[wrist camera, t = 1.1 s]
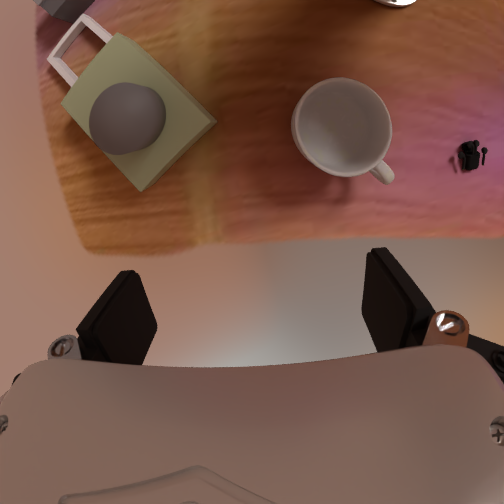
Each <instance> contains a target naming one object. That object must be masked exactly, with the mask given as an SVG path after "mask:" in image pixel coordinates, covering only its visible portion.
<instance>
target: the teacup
mask: <svg viewBox="0 0 504 504" xmlns="http://www.w3.org/2000/svg"><path fill="white" fill-rule="evenodd" d="M291 131H292V136H293V139H294V142H295V144H296V146H297V148H298V149H299V151H300V152H301V153H302V155H303V156H304V157H305V158H306V159H307V160H308V161H310V162H311V163H312V164H314V165H315V166H316V167H318V168H319V169H320V170H322V171H324V172H326V173H329V174H331V175H334V176H340V177H353V176H359V175H361V174H364V173H366V172H368V171H370V172H371V173H372V174H373V175H374V176H375V177H376V178H377V179H378V180H379V181H380V182H382V183H383V184H385V185H388V184H390V183H391V182H392V181H393V179H394V173H393V171H392V170H391V169H390V167H389V166H388V165H387V164H386V163H385V162H384V161H383V160H382V159H383V158H384V156H385V154H386V153H387V150H388V148H389V146H390V143H391V138H392V123H391V118H390V115H389V112H388V110H387V108H386V106H385V104H384V102H383V101H382V99H381V98H380V97H379V95H378V94H377V93H376V92H375V91H374V90H372V89H371V88H370V87H368V86H367V85H365V84H363V83H361V82H359V81H357V80H354V79H350V78H342V77H337V78H330V79H326V80H324V81H321V82H319V83H317V84H315V85H314V86H312V87H311V88H310V89H308V90H307V91H306V92H305V94H304V95H303V96H302V97H301V99H300V100H299V102H298V103H297V105H296V107H295V109H294V111H293V114H292V120H291Z"/></svg>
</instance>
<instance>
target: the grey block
mask: <svg viewBox="0 0 504 504" xmlns="http://www.w3.org/2000/svg"><path fill="white" fill-rule="evenodd" d="M33 1H34V2H35V3H36V4H38V5H39V6H41V7H42V8H43V9H45V10H46V11H47V12H48V13H49V14H50V15H51V16H52V17H55V18H58V19H61V20H64V21H67V22H70V23H73V24H74V23H75V22H76V21H77V19H78V18H79V17H80V16H81V15H82V14H83V13H84V11H85V10H86V9H87V8H88V7H89V6H90V5H91V4H92V3H93V2H94V1H95V0H33Z"/></svg>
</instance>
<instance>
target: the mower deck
mask: <svg viewBox="0 0 504 504" xmlns="http://www.w3.org/2000/svg"><path fill="white" fill-rule="evenodd" d="M86 26H88V27H89V28H90V29H91V30H92V31H93V32H94V33H95V34H97V35H98V36H99V37H100V38H101V39H102V40H103V41H104V42H105V43H106V45H105V46H104V47H103V48H102V49H101V51H100V52H99V53H98V54H97V55H96V56H95V58H94V59H93V60H92V61H91V63H90V64H89V65H88V66H87V68H86V69H85V70H84V71H83V73H82V74H81V75H80V77H79V78H78V77H77V76H76V75H75V73H74V72H73V71H72V70H71V69H70V68H69V67H68V66H67V65H66V64H65V63H64V62H63V61H62V60H61V57H62V55H63V54H64V52H65V51H66V50H67V49H68V47H69V46H70V45H71V43H72V42H73V41H74V40H75V38H76V37H77V36H78V35H79V34H80V32H81V31H82V30H83V29H84V28H85V27H86ZM47 60H48V61H49V63H50V64H51V65H52V66H53V67H54V68H55V69H56V70H57V72H58V73H59V74H60V75H61V76H62V77H63V78H64V79H65V81H66V82H67V83H68V84H69V85H70V86H71V89H70V90H69V92H68V93H67V95H66V96H65V98H64V99H63V101H62V102H61V105H62V106H63V107H64V108H65V109H66V111H67V112H68V113H69V114H70V115H71V116H72V118H73V119H74V120H75V121H76V122H77V123H78V124H79V126H80V127H81V128H82V129H83V130H84V131H85V132H86V134H87V135H88V136H89V137H90V138H91V139H92V140H93V141H94V143H95V144H96V145H97V146H98V147H99V148H100V149H101V150H102V151H103V152H104V154H105V155H106V156H107V157H108V158H109V159H110V160H111V161H112V162H113V163H114V165H115V166H116V167H117V168H118V169H119V170H120V171H121V172H122V173H123V174H124V175H125V176H126V177H127V179H128V180H129V181H130V182H131V183H132V184H133V185H134V186H135V187H136V188H137V189H138V190H139V191H140V192H142V191H144V190H145V189H147V188H148V187H150V186H152V185H153V184H155V183H156V182H157V181H158V180H159V178H160V177H161V176H162V175H163V174H164V173H165V172H166V171H167V170H168V169H169V168H170V167H171V166H172V165H173V164H174V163H175V162H176V161H177V160H178V159H179V158H180V157H181V156H182V155H183V154H184V153H185V152H186V151H187V150H188V149H189V148H190V147H191V146H192V145H193V144H194V143H195V142H196V141H197V140H199V139H200V138H201V137H202V136H203V135H204V134H205V133H206V132H207V131H208V130H209V129H210V128H212V127H213V126H214V125H215V124H216V123H217V121H216V120H215V118H214V117H213V116H212V115H211V114H210V113H209V112H208V111H207V110H206V109H205V108H204V107H203V106H202V105H201V104H200V103H199V102H198V101H197V100H196V99H195V98H194V97H193V96H192V95H191V94H190V93H189V92H188V91H187V90H186V89H185V88H184V87H183V86H182V85H181V84H180V83H179V82H178V81H177V80H176V79H175V78H174V77H173V76H171V75H170V74H169V73H168V72H167V71H166V70H165V69H164V68H163V67H162V66H161V65H160V64H159V63H158V62H157V61H156V60H154V59H153V58H152V57H151V56H150V55H149V54H148V53H147V52H146V51H145V50H143V49H142V48H141V47H140V46H139V45H138V44H137V43H136V42H135V41H133V40H131V39H129V38H128V37H126V36H124V35H122V34H120V33H118V32H117V33H116V34H115V35H114V36H112V35H111V34H109V33H108V32H107V31H106V30H105V29H104V28H103V27H101V26H100V25H99V24H98V23H97V22H96V21H94V20H93V19H92V18H91V17H90V16H87V15H85V14H82V15H81V16H80V17H79V18H78V19H77V21H76V22H75V23H74V24H73V25H72V26H71V28H70V29H69V30H68V31H67V33H66V34H65V35H64V36H63V38H62V39H61V40H60V42H59V43H58V44H57V46H56V47H55V48H54V50H53V51H52V52H51V54H50V55H49V57H48V58H47Z"/></svg>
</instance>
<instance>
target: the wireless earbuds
mask: <svg viewBox="0 0 504 504" xmlns="http://www.w3.org/2000/svg"><path fill="white" fill-rule="evenodd" d="M478 146H479V141H478V140H474V141H469V142H464V143H463V144H462V149H463V151H464V152H465V155H464V153H463V152H459V154H458V158H459V159H462V158H463V164H462V170H464V169H466V170H472V169H476V168H478V166H479V158H480V153H479V152H478V151H477V147H478ZM481 151H482V153H483V158H482V165H483V166H484V161H485V154H486V153H487V151H488V150H487V148H485V147H483V148H482V149H481Z"/></svg>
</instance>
